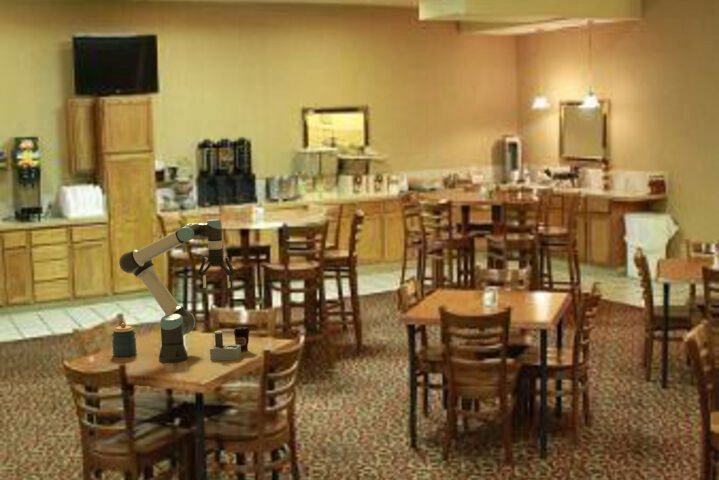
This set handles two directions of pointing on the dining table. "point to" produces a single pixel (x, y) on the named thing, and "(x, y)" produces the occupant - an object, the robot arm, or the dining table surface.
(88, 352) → the dining table surface
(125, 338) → the canister
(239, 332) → the coffee cup
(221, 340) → the plug
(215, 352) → the socket box
